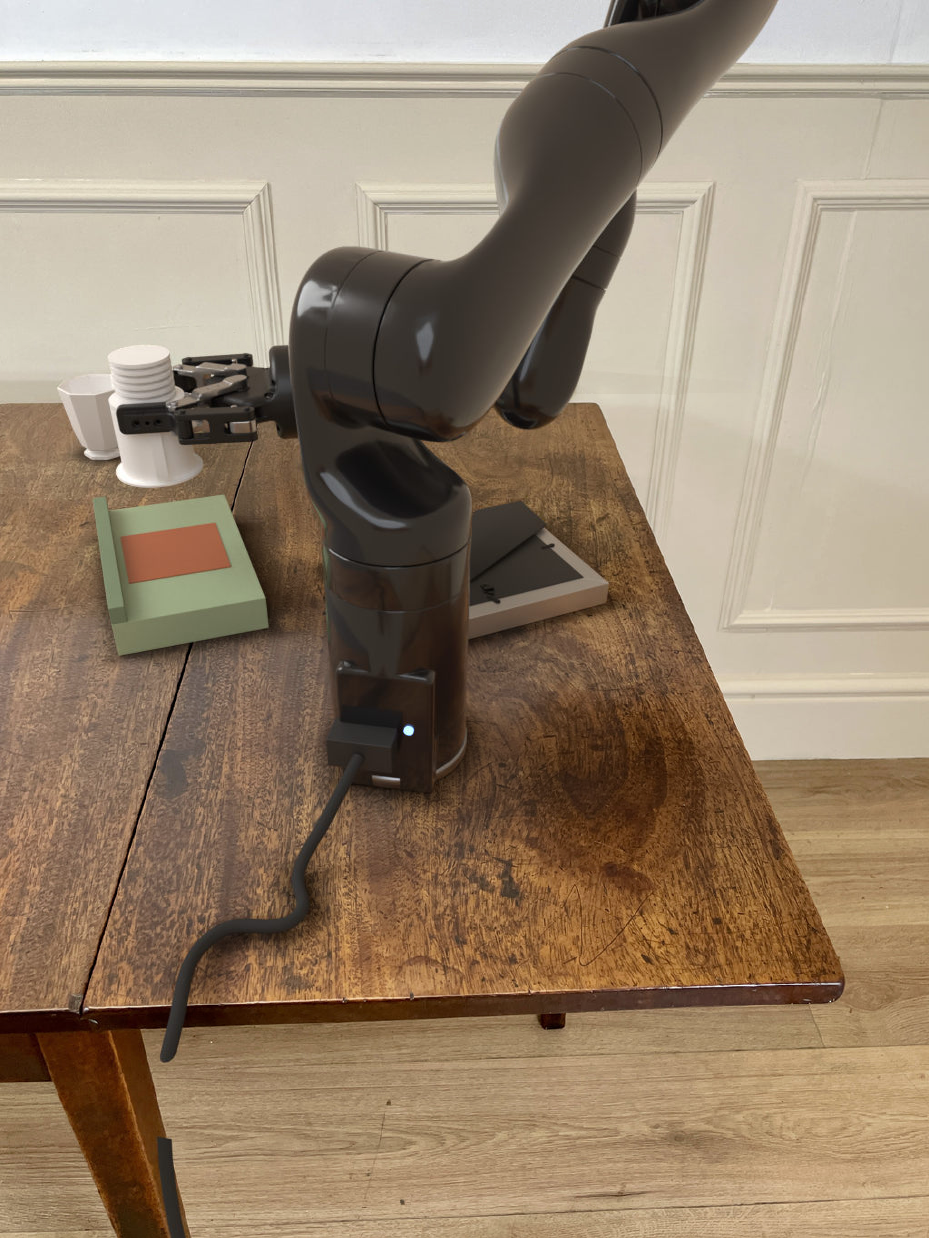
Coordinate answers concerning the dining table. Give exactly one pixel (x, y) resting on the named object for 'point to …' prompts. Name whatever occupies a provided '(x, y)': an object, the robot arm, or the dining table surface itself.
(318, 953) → the dining table surface
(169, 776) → the dining table surface
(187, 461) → the downlight
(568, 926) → the dining table surface
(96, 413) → the cup
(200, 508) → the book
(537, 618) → the picture frame
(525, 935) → the dining table surface
